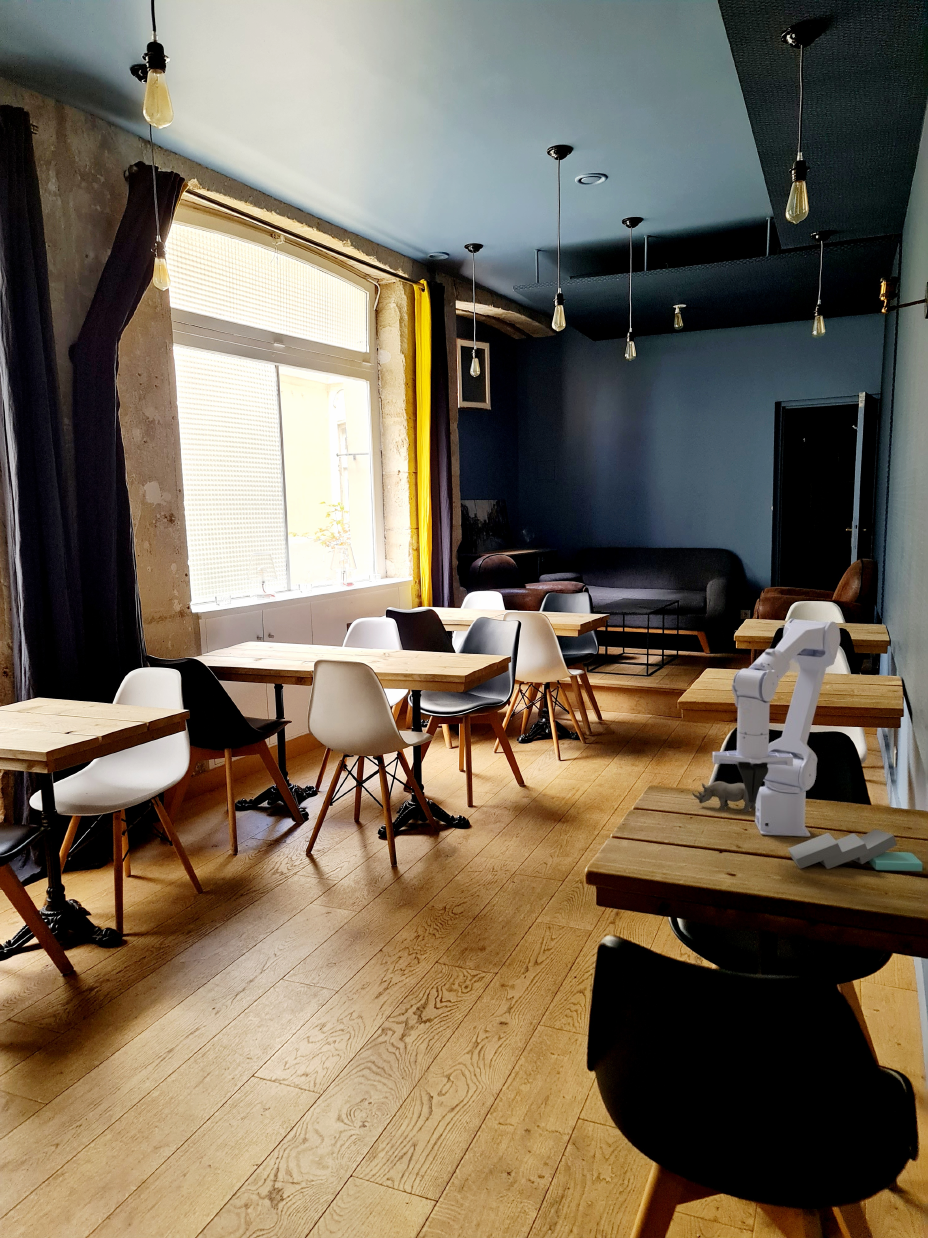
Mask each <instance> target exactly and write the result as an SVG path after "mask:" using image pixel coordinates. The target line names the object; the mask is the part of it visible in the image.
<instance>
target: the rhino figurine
mask: <svg viewBox="0 0 928 1238" xmlns="http://www.w3.org/2000/svg"><path fill="white" fill-rule="evenodd" d="M701 786H702V789H703V791H702V792H701V791H697V792H698V794H695V793H694V792H691V794H692V796H693V797H694V798H695V799H697V800H698V802H699V804H703V803H704V804H705V803H707V802H709V801H710V800H711V799H712V798H713V797H714V798H718V801H719V804H720V805H719V807H718V810H719V811H725V810H726V808H727V807H729V805H730V803H728V802H733V803H737V802H740V801H742V800H743V802H744V806H743V807H742V808H741V812H742V813H748V812H750V810H751V811H752V810H756V802H748V800H747V796H746V789H745V785H744V782H743V783H742V782H737V783H727V782H725V781H720V780H719V781H714V782H712V783H710V784H708V785H706V784H705V783H701Z"/></svg>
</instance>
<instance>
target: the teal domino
mask: <svg viewBox="0 0 928 1238" xmlns="http://www.w3.org/2000/svg"><path fill="white" fill-rule="evenodd" d="M868 863H870V865H871V866H872V867H873V868H874V869H875V870H877V871H902V872H903V871H905V872H906V871H907V872H909V871H910V872H923V862H922V861H921V860H919V858H917V857H916V855H915V854H913V852H909V851H908V852H904V851H903V852H901V851H900V852H899V851H885V852H884V853H882V854H880V855H878V856H876V857H874V858H873V859H871V860H869V861H868Z"/></svg>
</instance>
